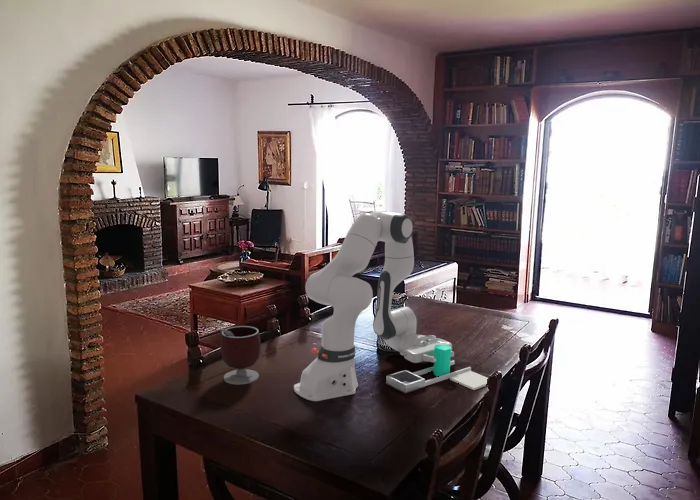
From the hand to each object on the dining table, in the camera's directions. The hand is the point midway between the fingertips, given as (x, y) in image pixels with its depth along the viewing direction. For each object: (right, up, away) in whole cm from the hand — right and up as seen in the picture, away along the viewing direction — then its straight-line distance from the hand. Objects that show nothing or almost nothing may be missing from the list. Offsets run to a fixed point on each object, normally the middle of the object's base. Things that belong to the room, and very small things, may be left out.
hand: (443, 357), depth 198 cm
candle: (-1, -7, +2) cm, 7 cm away
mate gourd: (-74, -7, -4) cm, 74 cm away
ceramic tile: (+9, -8, -5) cm, 13 cm away
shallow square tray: (-15, -8, -9) cm, 19 cm away
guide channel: (-1, -6, +1) cm, 7 cm away
